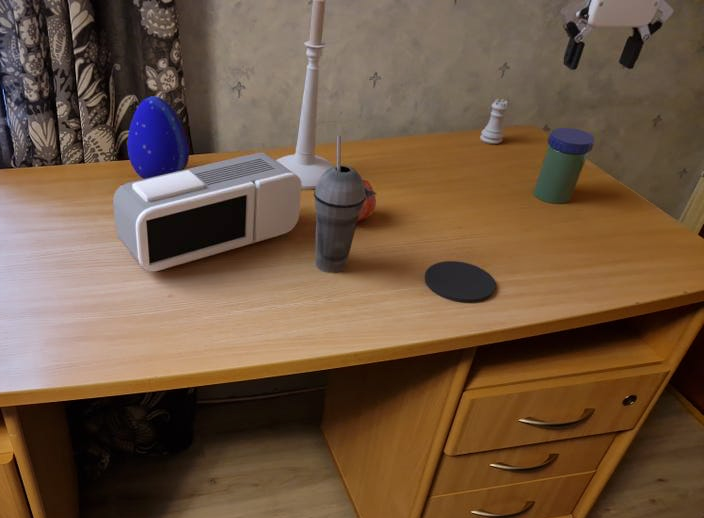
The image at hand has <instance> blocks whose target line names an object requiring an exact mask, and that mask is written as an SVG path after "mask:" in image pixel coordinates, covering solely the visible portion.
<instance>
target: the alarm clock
mask: <svg viewBox="0 0 704 518" xmlns="http://www.w3.org/2000/svg"><path fill="white" fill-rule="evenodd" d="M276 160H277V159H274V158H273V157H272V156H271V155H269V154H267V153H266V152H254V153H251V154H247V155H243V156H238V157H233V158H229V159H225V160H220V161H217V162H211V163H208V164H204V165H200V166H195V167H190V168H187V169H186V168H185V169H184V170H182V171H177V172H173V173H169V174H164V175H160V176H156V177H151V178H147V179H143V178H142V179H139V180H135V181H129V182H126V183H124V184H122V185H120V186H119V187H118V188H117V189H116V190H115V192H114V194H113V198H112V205H113V215H114V224H115V232H116V236H117V239H118V240H119V241H120V242H121V244H122V245H123V246H124V247H125V248H126V250H127V251H128V252H129V253H130V254H131V256H132V257H133V258H134V259H135V260H136V261H137V262H138V264H139V265H140V267H142V268H143V269H144V270H145V271H148V272H158V271H162V270H167V269H169V268H173V267H177V266H180V265H183V264H186V263H190V262H194V261H197V260H200V259H203V258H207V257H210V256H211V257H212V256H214V255H217V254H221V253H225V252H228V251H231V250H236V249H238V248H242V247H245V246H248V245H252V244H255V243H259V242H262V241H265V240H269V239H272V238H276V237H279V236H281V235H284V234H287V233H289V232H291V231H292V230H293V229H294V228H295V227H296V225H297V223H298V221H299V218H300V209H301V199H302V189H301V188H302V184H301V180H300V178H299V176H297V175H296V174H294V173H293V172H291V171H290V170H289V169H287V168H286V167H284V166H283V165H281V164H280V163H279V162H277V161H276Z"/></svg>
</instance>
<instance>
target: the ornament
mask: <svg viewBox="0 0 704 518" xmlns="http://www.w3.org/2000/svg"><path fill="white" fill-rule="evenodd" d="M126 147H127V154H128V159H129V163H130V164H131V166H132V168H133V170H134V171H135V173H136V174H137V175H138V176H139V177H140V178H141V179H142V180H143V179H147V178H151V177H156V176H160V175H164V174H169V173H173V172H177V171H182V170H185V169H186V167H187V165H188V163H189V158H190V148H189V143H188V139H187V136H186V133H185V130H184V128H183V125H182V122H181V121H180V119H179V117H178V115H177V114H176V112H175V111H174V109H173V108H172V107H171V106H170V105H169V103H168V102H167V101H166V100H164V99H163V98H161V97H159V96H156V95H154V96H153V95H151V96H149V97H147V98H144V100H142V101H141V102H140V103H139V104H138V106H137V108H136V110H135V111H134V114H133V116H132V119H131V122H130V125H129V130H128V134H127V145H126Z"/></svg>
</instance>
